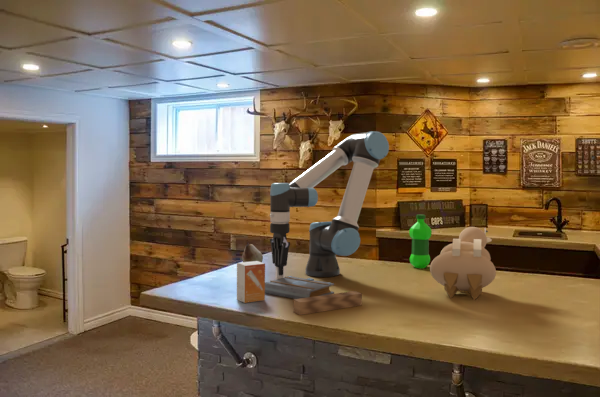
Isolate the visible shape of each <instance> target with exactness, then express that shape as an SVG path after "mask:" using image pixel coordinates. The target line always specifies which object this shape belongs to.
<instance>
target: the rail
mask: <svg viewBox="0 0 600 397" xmlns="http://www.w3.org/2000/svg"><path fill="white" fill-rule="evenodd" d="M362 298H363V293H361V292H359V291H356V290H352V291H344V292H338V293H334V294H329V295H322V296H315V297H308V298H300V299H293V313H295V314H297V315H299V316H301V315H308V314H314V313H321V312H322V313H323V312H326V311H327V312H328V311H333V310H339V309H346V308H353V307H358V306H362V305H363V303H362V302H363V299H362Z"/></svg>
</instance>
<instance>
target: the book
mask: <svg viewBox="0 0 600 397" xmlns="http://www.w3.org/2000/svg"><path fill="white" fill-rule="evenodd" d="M334 285H335V283H334V282H333V283H332V282H327V281H321V280H315V279H314V278H309V277H308V278H304V277H303V278H302V277H297V276H296V277H295V276H293V275H289V276H283V278H280V279H276V280H275V279H274V280H269V281H265V294H268V295H274V296H278V297H282V298H283V297H284V298H287V299H293V300H294V299H300V298H308V297H315V296H322V295H329V294H335V291H332V290H330V287H331V286H334Z"/></svg>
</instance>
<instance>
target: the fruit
mask: <svg viewBox="0 0 600 397" xmlns="http://www.w3.org/2000/svg"><path fill="white" fill-rule="evenodd" d="M263 256H264V255H263V254H262V252H261V251H260V250H259V249H258V248H257V247H256V246H255V245H254V244H252V243H249V242H248V241H247V242H246V245H245V247H244V250H243V252H242V262H252V261H259V262H262V263H263V259H264V257H263Z"/></svg>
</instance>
